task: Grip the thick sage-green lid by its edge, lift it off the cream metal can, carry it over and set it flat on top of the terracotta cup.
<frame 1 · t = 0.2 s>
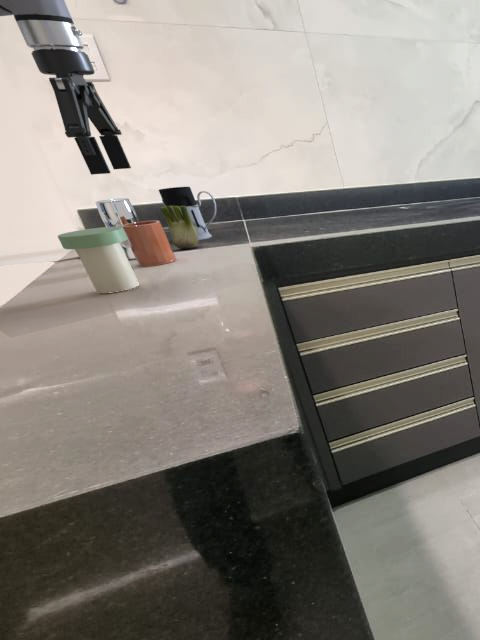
hand: (112, 171, 107), 24 cm above the counter, tool pointing down, fingers open, 13 cm apart
fennel bulb: (189, 249, 151), on the counter
beer glass: (138, 257, 143), on the counter
cup: (158, 262, 136), on the counter
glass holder: (204, 238, 164), on the counter
lid: (96, 243, 111), point 10 cm above the counter, touching can
can: (119, 289, 115), on the counter
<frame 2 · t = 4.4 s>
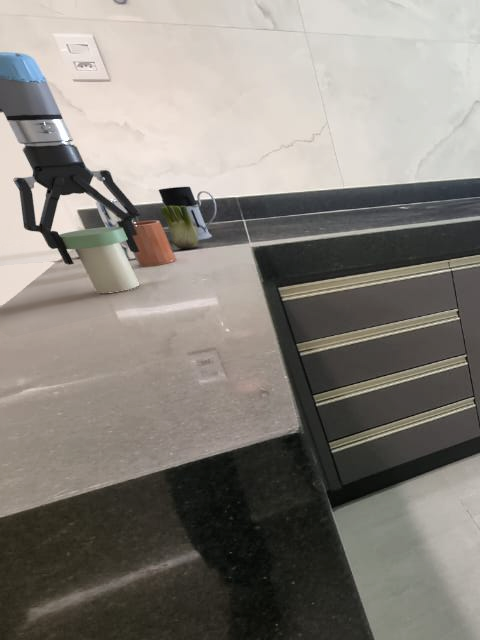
hand: (103, 257, 112), 7 cm above the counter, tool pointing down, fingers closed on lid, 10 cm apart
lid: (96, 243, 111), point 10 cm above the counter, touching can, gripper
everything else where it was.
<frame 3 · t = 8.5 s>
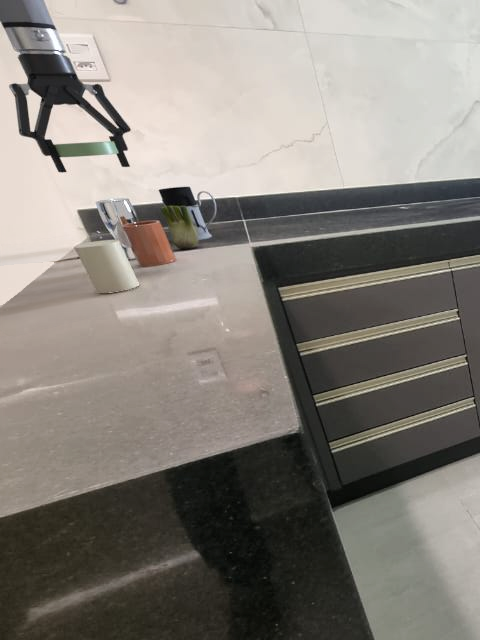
hand: (95, 169, 117), 24 cm above the counter, tool pointing down, fingers closed on lid, 10 cm apart
lid: (88, 155, 116), point 27 cm above the counter, touching gripper
everything else where it was.
when the fingers open (7 cm above the counter, at t = 12.6 s): lid stays where it is, resting on cup.
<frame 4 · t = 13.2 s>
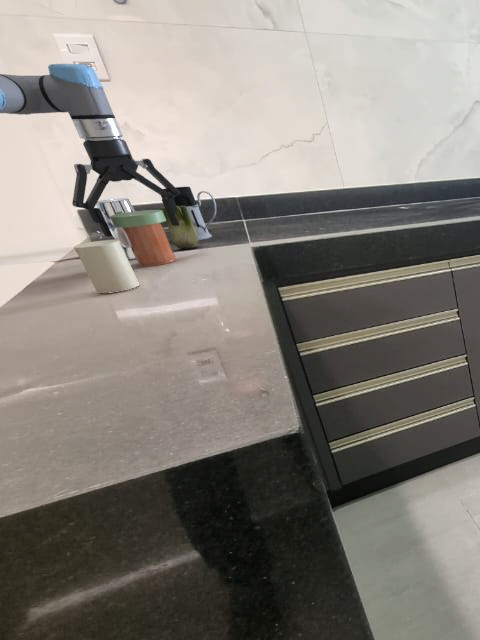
hand: (143, 230, 133), 8 cm above the counter, tool pointing down, fingers open, 13 cm apart
lid: (141, 223, 132), point 10 cm above the counter, touching cup
everything else where it was.
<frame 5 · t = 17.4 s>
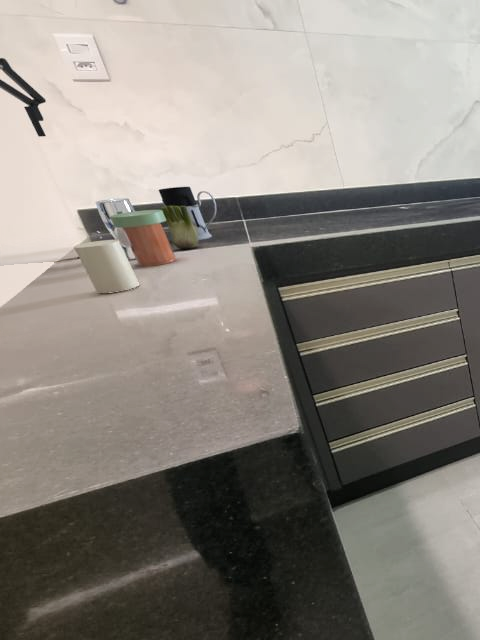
hand: (1, 138, 122), 31 cm above the counter, tool pointing down, fingers open, 13 cm apart
nothing on the counter moved.
at the end: lid 0.1 cm off-centre on the cup, point 10.0 cm above the cup's base; lid tilted 0°; the gripper is holding nothing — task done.
